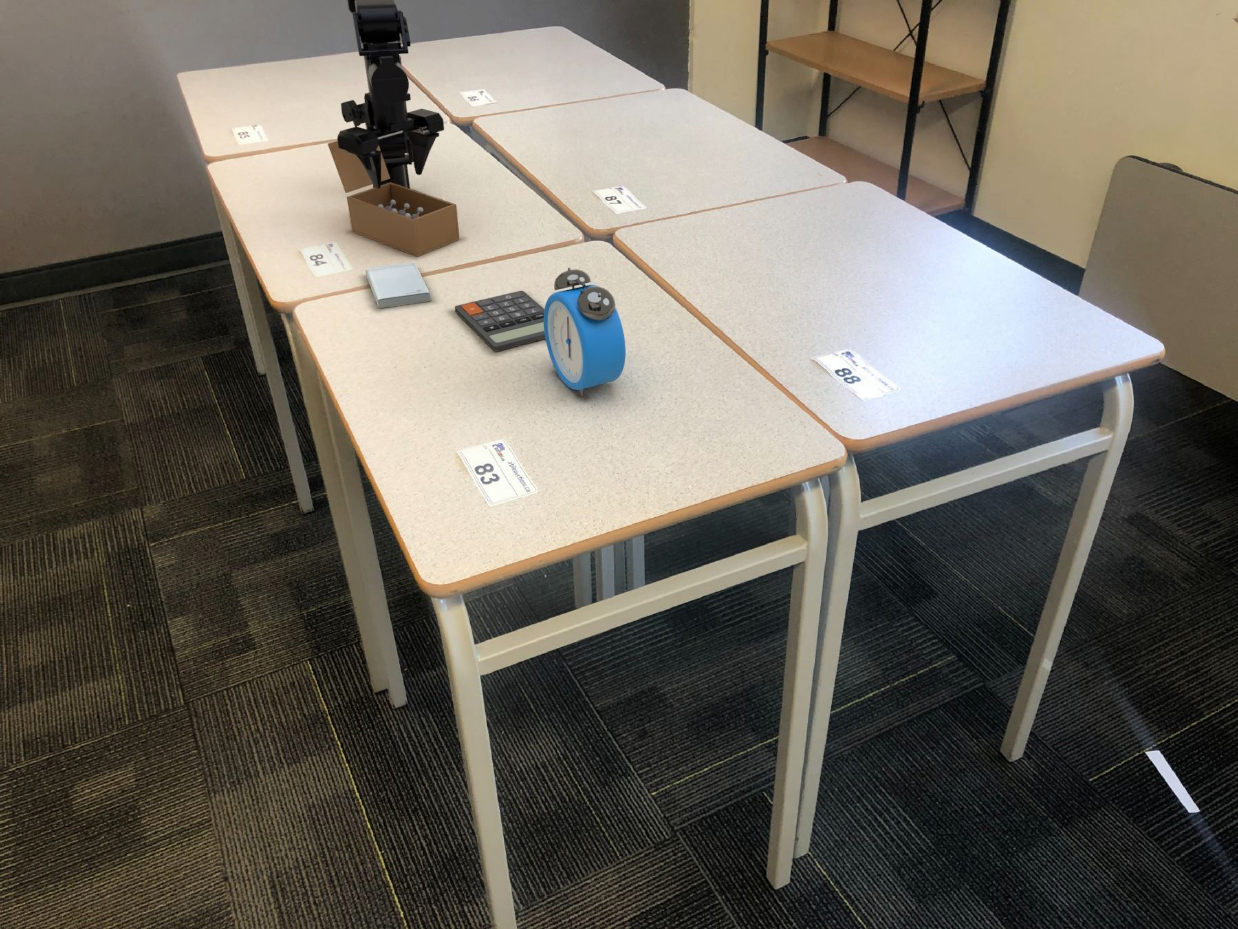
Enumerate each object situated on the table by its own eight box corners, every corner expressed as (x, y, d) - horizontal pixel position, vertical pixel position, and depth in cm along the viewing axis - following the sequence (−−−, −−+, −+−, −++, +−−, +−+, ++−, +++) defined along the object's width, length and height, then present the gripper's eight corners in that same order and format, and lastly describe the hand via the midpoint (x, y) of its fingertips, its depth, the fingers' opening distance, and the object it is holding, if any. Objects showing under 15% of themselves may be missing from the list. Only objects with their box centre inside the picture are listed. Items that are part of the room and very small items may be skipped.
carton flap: (346, 192, 168) (345, 192, 168) (390, 178, 174) (389, 178, 174) (328, 143, 164) (327, 143, 165) (373, 130, 171) (372, 130, 171)
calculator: (522, 289, 151) (566, 327, 140) (522, 294, 151) (566, 332, 141) (453, 305, 146) (494, 345, 135) (454, 310, 146) (494, 351, 136)
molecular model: (441, 238, 168) (438, 211, 166) (422, 245, 166) (419, 218, 163) (392, 219, 176) (389, 193, 173) (374, 225, 173) (370, 199, 170)
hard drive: (430, 291, 148) (415, 260, 158) (377, 299, 146) (365, 267, 155) (431, 301, 149) (416, 270, 159) (378, 309, 147) (366, 276, 156)
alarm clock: (543, 365, 133) (539, 265, 124) (583, 355, 136) (581, 256, 127) (586, 409, 124) (585, 304, 115) (627, 397, 126) (629, 294, 118)
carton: (352, 231, 172) (346, 196, 168) (394, 216, 178) (390, 182, 175) (417, 256, 163) (412, 220, 159) (459, 239, 170) (456, 204, 166)
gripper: (398, 69, 166) (408, 158, 175) (308, 89, 154) (325, 184, 163) (441, 79, 160) (450, 171, 169) (352, 101, 148) (367, 199, 157)
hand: (398, 181), depth 165 cm, fingers open, 9 cm apart
